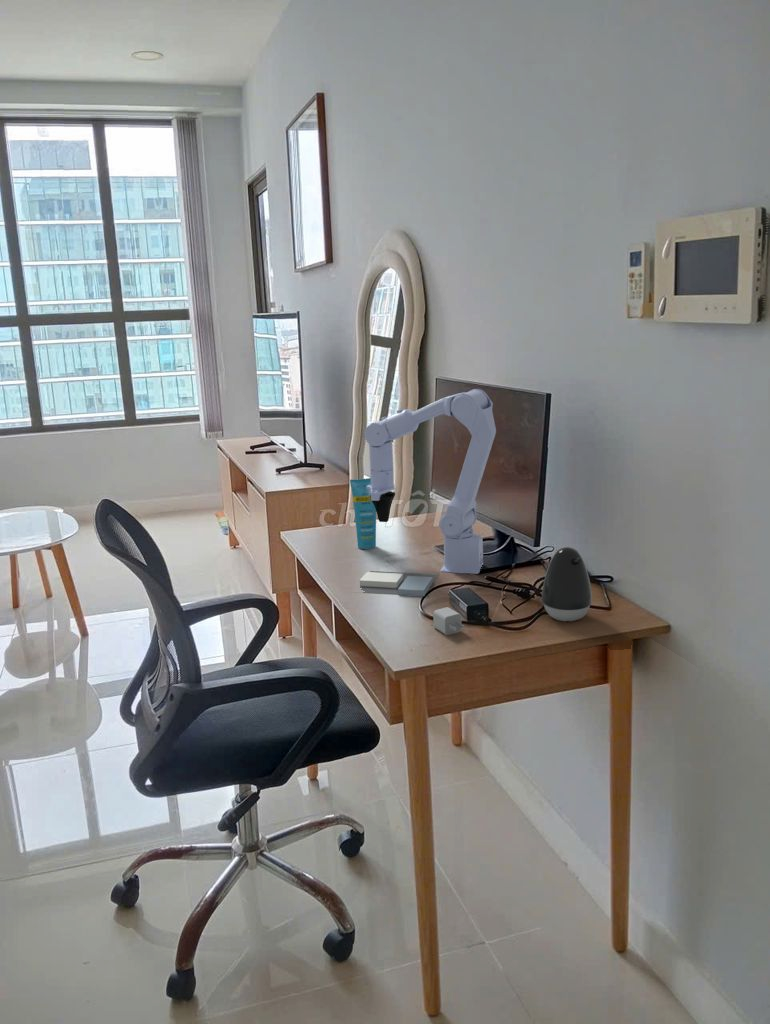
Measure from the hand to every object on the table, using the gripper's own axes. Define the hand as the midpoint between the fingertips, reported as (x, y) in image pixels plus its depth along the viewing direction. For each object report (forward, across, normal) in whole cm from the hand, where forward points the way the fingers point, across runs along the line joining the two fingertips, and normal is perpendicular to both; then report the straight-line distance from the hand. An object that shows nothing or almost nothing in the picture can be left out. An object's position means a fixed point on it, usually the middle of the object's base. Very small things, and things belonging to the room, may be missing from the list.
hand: (383, 521), depth 216 cm
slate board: (+10, +20, +13) cm, 26 cm away
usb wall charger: (+11, +43, +26) cm, 51 cm away
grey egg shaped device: (+10, +31, +48) cm, 58 cm away
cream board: (+9, +15, +4) cm, 18 cm away
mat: (+10, +17, +7) cm, 21 cm away
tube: (+11, -10, -8) cm, 17 cm away
